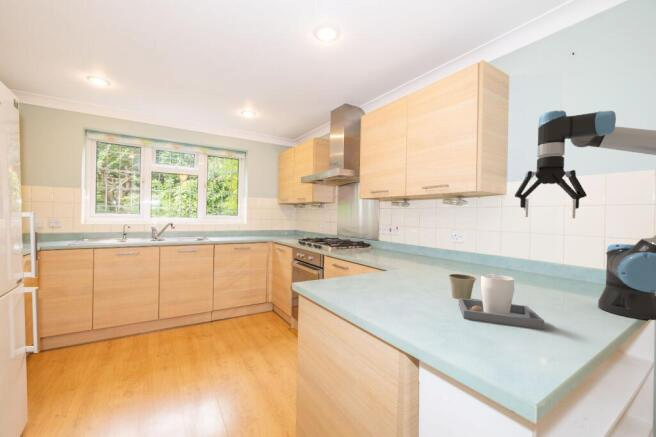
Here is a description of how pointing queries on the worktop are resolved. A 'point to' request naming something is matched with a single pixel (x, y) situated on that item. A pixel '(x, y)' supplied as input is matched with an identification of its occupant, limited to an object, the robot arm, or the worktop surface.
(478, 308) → the ball
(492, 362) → the worktop surface
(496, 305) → the cup
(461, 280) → the flower pot
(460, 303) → the tray
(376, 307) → the worktop surface
